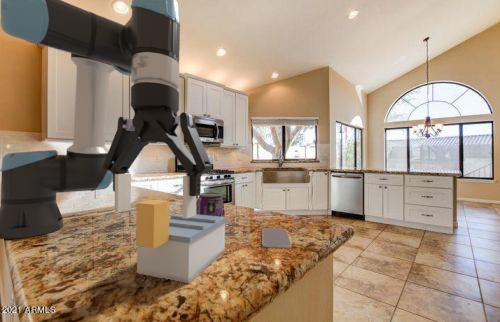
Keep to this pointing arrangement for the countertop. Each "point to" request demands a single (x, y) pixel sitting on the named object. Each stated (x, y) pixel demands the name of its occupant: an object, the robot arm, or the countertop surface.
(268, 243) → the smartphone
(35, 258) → the countertop surface
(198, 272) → the tub
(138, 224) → the lid
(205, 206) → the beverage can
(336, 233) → the countertop surface
